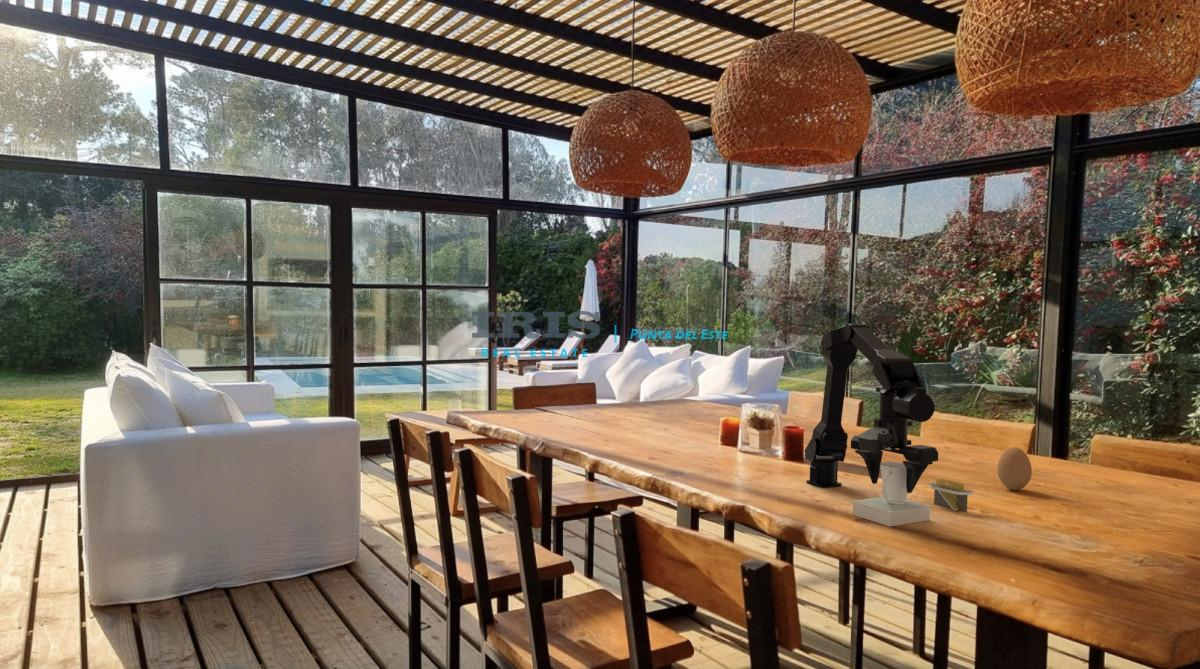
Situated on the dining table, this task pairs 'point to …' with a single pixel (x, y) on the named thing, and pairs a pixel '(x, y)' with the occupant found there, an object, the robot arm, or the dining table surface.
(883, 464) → the cup
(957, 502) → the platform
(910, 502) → the slab
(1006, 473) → the egg
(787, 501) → the dining table surface
